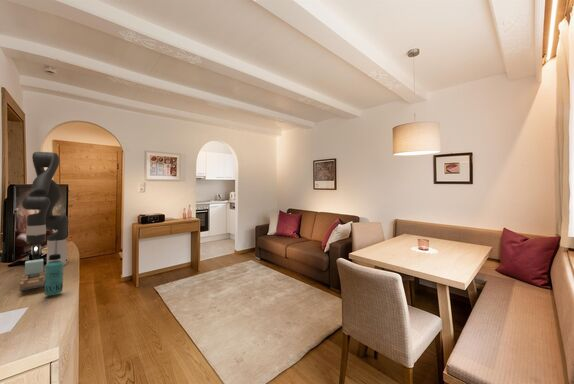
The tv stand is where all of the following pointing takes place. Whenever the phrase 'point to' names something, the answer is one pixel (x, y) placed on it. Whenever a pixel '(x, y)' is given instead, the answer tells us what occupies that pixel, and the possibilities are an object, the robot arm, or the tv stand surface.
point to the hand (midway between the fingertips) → (35, 264)
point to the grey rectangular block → (34, 267)
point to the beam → (32, 281)
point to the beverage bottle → (53, 276)
